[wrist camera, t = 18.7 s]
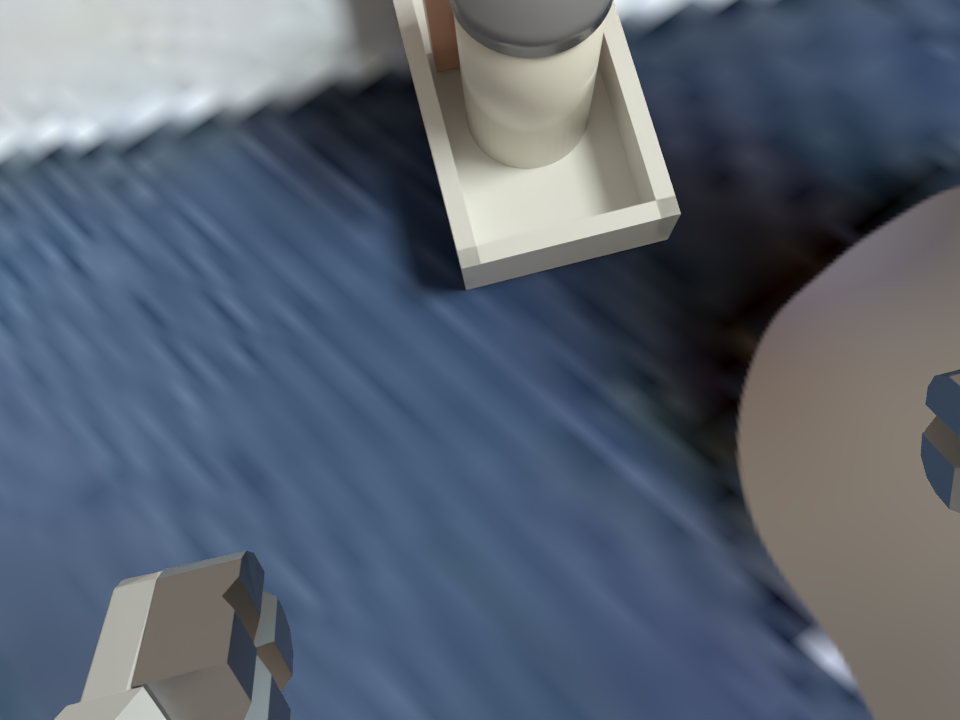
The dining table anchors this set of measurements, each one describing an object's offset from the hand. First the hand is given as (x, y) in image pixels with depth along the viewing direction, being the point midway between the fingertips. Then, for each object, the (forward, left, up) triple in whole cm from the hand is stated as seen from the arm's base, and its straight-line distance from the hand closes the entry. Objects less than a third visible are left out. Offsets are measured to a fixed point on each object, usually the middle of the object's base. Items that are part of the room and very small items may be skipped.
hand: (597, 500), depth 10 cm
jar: (+4, +18, -25) cm, 31 cm away
